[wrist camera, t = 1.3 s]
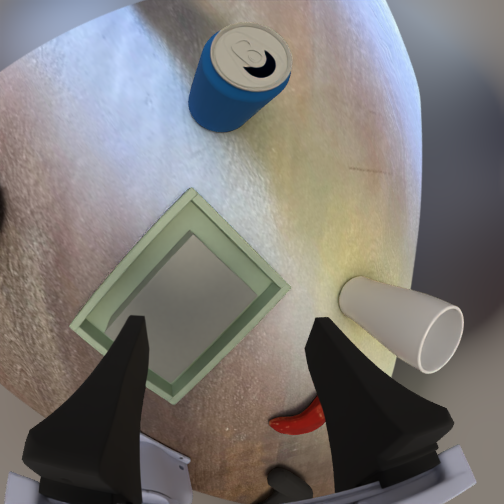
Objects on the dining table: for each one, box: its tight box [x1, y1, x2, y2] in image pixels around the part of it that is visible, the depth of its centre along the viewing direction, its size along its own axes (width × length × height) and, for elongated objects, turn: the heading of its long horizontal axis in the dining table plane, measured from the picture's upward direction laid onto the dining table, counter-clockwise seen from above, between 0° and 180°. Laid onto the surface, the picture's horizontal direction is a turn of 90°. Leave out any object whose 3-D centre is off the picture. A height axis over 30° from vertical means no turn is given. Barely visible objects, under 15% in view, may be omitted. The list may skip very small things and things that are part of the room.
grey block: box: [104, 230, 257, 383], centre depth 28 cm, size 8×12×4 cm, turn 134°
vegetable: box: [269, 396, 325, 435], centre depth 36 cm, size 4×5×12 cm
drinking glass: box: [339, 276, 464, 374], centre depth 29 cm, size 7×7×15 cm
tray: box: [69, 187, 291, 405], centre depth 29 cm, size 14×18×3 cm
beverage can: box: [188, 22, 292, 132], centre depth 23 cm, size 6×6×12 cm
